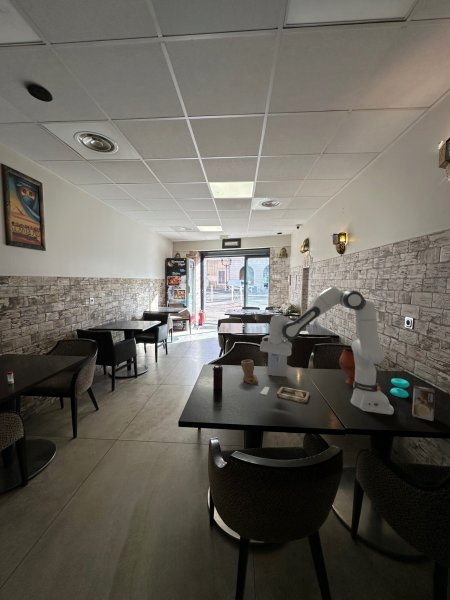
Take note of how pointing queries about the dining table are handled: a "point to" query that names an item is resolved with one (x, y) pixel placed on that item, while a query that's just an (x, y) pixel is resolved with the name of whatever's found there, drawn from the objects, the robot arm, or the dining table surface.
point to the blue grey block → (274, 361)
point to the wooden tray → (292, 396)
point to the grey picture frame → (423, 403)
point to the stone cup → (249, 371)
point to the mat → (264, 391)
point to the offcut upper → (299, 394)
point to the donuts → (398, 391)
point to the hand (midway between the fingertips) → (274, 360)
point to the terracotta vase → (348, 364)
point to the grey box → (281, 365)
